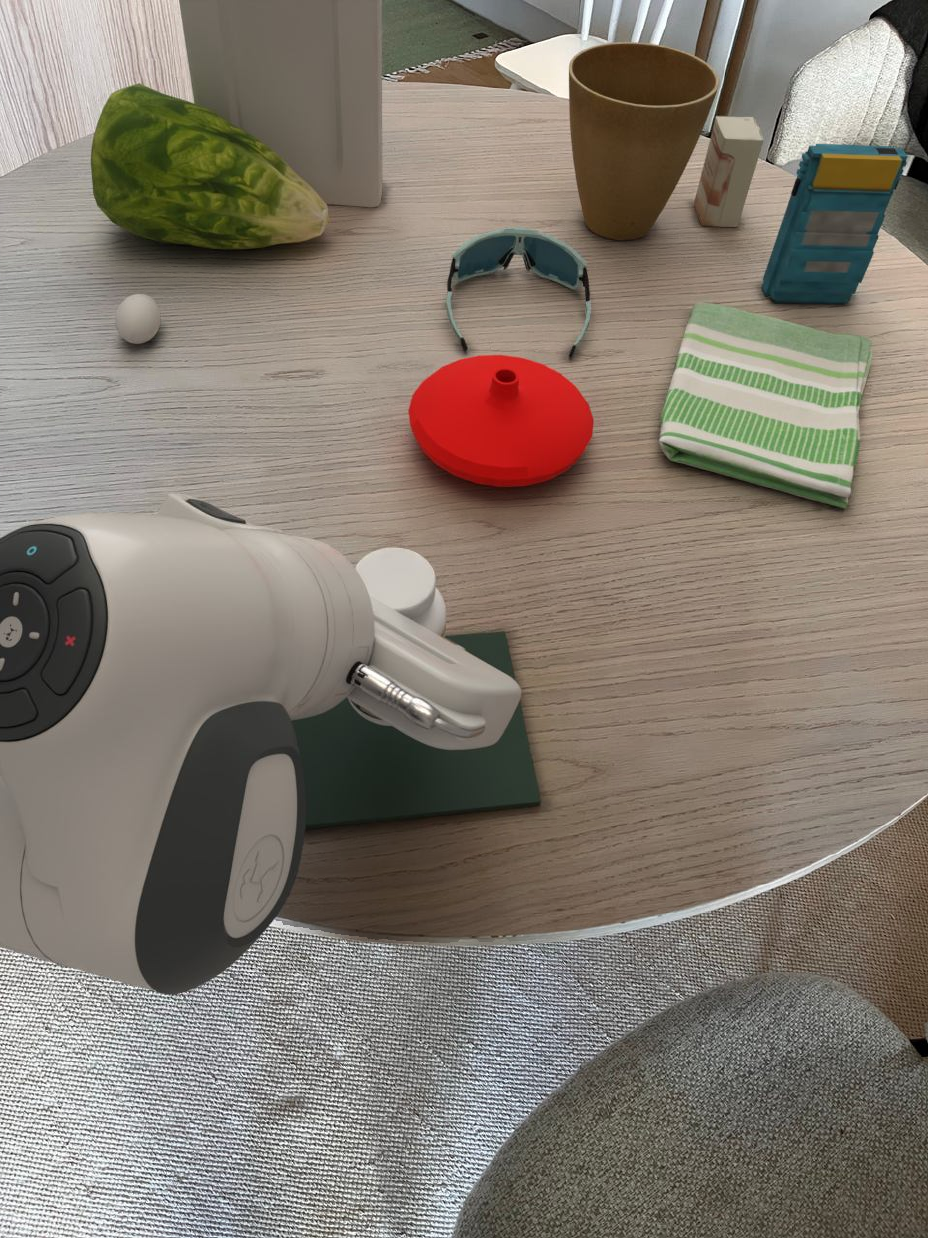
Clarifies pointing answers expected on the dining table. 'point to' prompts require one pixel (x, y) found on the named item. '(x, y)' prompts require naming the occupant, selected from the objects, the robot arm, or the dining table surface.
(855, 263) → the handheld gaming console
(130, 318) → the egg
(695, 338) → the dish towel
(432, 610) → the pill bottle
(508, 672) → the mat
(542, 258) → the sunglasses
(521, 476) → the flat cone with hole
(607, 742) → the dining table surface
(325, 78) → the tall white carton
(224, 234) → the lettuce
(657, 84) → the plant pot
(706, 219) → the small cream box
